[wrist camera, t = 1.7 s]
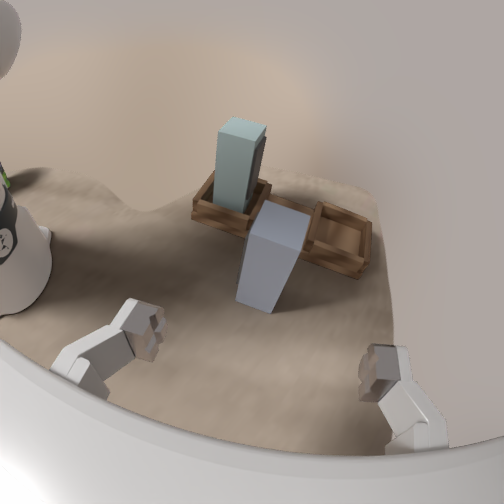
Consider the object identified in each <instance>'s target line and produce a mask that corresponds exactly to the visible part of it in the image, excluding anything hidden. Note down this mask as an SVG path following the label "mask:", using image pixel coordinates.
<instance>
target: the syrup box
mask: <svg viewBox="0 0 504 504" xmlns="http://www.w3.org/2000/svg"><path fill="white" fill-rule="evenodd" d="M0 181H1V183H2V184H3V185H5V186H6V188H9V187H10V183H9V180H8V178H7V176H6V174H5V172H4V169H3V167H2V165H1V162H0Z"/></svg>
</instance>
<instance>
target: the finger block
mask: <svg viewBox="0 0 504 504" xmlns="http://www.w3.org/2000/svg"><path fill="white" fill-rule="evenodd" d="M310 217H311V216H309V215H307V214H304V213H301V212H298V211H296V210H293V209H290V208H287V207H284V206H282V205H279V204H276V203H273V202H270V201H267V200H265V201H264V203H263V206H262V208H261V210H260V212H257V214H256V216H255V219H254V221H253V223H252V225H251V227H250V229H249V231H248V233H247V235H246V237H245V242H244V247H243V252H242V257H241V262H240V267H239V272H238V277H237V282H236V284H238V290H237V295H236V299H235V301H237V302H240V303H242V304H245V305H248V306H250V307H253V308H256V309H259V310H261V311H264V312H267V313H270V314H271V312H272V310H273V308H274V306H275V304H276V302H277V300H278V298H279V296H280V294H281V292H282V290H283V288H284V286H285V283H286V281H287V279H288V277H289V275H290V273H291V271H292V269H293V267H294V265H295V262H296V260H297V258H298V256H299V254H300V252H301V248H302V245H303V242H304V238H305V234H306V231H307V227H308V224H309V220H310Z"/></svg>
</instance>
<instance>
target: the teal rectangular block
mask: <svg viewBox="0 0 504 504" xmlns="http://www.w3.org/2000/svg"><path fill="white" fill-rule="evenodd" d="M266 127H267V126H266V125H262V124H259V123H255V122H251V121H248V120H244V119H240V118H236V117H232V118H231V119H230V120H229V121H228V122H227V123H226V124H225V125H224V126H223V127H222V128H221V129H220V130H219V131H218V139H217V151H216V164H215V177H214V191H213V204H216V205H219V206H222V207H225V208H228V209H231V210H234V211H237V212H239V213H242V214H244V212H245V210H246V209H247V207H248V205H249V203H250V201H251V199H252V196H253V191H254V189H255V187H256V185H257V180H258V176H259V171H260V166H261V161H262V156H263V151H264V147H265V142H266V137H265V131H266Z"/></svg>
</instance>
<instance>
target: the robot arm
mask: <svg viewBox="0 0 504 504" xmlns="http://www.w3.org/2000/svg"><path fill="white" fill-rule="evenodd" d="M20 40H21V23H20V19H19V16H18V14H17V12H16V10H15V9H14V8H13V6H12V5H10V4H9V3H7V2H6V1H4V0H0V79H1V78H3V77H4V76H5V75H7V73H8V72H9V70H10V68H11V66H12V64H13V62H14V60H15V58H16V56H17V52H18V49H19V46H20ZM50 240H51V232H50V230H49V229H48V228H46V227H42V226H38V225H37V223H36V222H35V220H34V219H33V217H32V215H31V214H30V212H29V211H28V209H27V208H26V207H22V206H16V204H15V202H14V200H13V197H12V195H11V193H10V192H9V191H8V189H7V188H6V186H5V185H3V184H2V183H1V181H0V316H1V315H4V314H13V313H17V312H20V311H22V310H24V309H25V308H27V307H28V306H29V305H31V304H32V303H33V302H34V301H35V300H36V299H37V298H38V296H39V295H40V294H41V292H42V291H43V289H44V287H45V285H46V283H47V281H48V279H49V276H50V272H51V267H52V256H51V252H50V247H49V245H50ZM164 314H165V312H164V308H163V307H160V306H156V305H153V304H149V303H146V302H143V301H139V300H136V299H132V298H129V299H128V300H126V302H125V303H124V305H123V306H122V308H121V309H120V310H119V312H118V313H117V315H116V316H115V318H114V319H113V321H112V322H111V324H110V325H105V326H103V327H102V328H100V329H98V330H96V331H94V332H92V333H90V334H88V335H87V336H85V337H83V338H81V339H79V340H77V341H75V342H73V343H71V344H70V345H68V346H66V347H64V348H63V349H62V351H61V352H60V354H59V355H58V357H57V359H56V360H55V362H54V363H53V365H52V366H51V368H50V369H49V370H48V369H46V368H44V367H43V366H41V365H39V364H38V363H36V362H35V361H33V360H31V359H30V358H28V357H27V356H25V355H24V354H22V353H21V352H19V351H18V350H16V349H15V348H14V347H12V346H11V345H10V344H8V343H7V342H6V341H4V340H2V339H0V504H504V436H502V437H498V438H494V439H490V440H487V441H483V442H479V443H474V444H470V445H465V446H460V447H454V448H449V443H448V432H447V424H446V419H445V418H444V417H443V415H442V414H441V413H440V411H439V410H438V409H437V407H436V406H435V405H434V404H433V402H432V401H431V400H430V398H429V397H428V396H427V395H426V393H425V392H424V391H423V389H422V388H421V387H420V386H419V384H418V383H417V382H416V381H413V377H412V371H411V365H410V359H409V353H408V349H407V347H405V346H394V345H385V344H373V343H372V344H370V345H369V347H368V349H367V351H368V353H367V354H365V355H363V357H362V359H361V361H360V364H359V371H358V377H359V379H360V380H361V381H362V383H361V384H360V386H359V401H364V402H378V405H379V407H380V409H381V410H382V412H383V414H384V416H385V418H386V419H387V421H388V423H389V425H390V427H391V429H392V430H393V432H394V434H395V436H396V438H395V439H394V440H392V441H391V442H389V443H388V444H387V445H386V446H385V455H379V456H341V455H321V454H308V453H298V452H289V451H281V450H274V449H268V448H262V447H256V446H250V445H245V444H240V443H235V442H230V441H226V440H222V439H217V438H213V437H209V436H206V435H202V434H198V433H195V432H191V431H188V430H184V429H181V428H178V427H175V426H171V425H168V424H165V423H162V422H159V421H157V420H154V419H151V418H148V417H146V416H143V415H140V414H138V413H135V412H133V411H130V410H128V409H125V408H123V407H120V406H118V405H116V404H113V403H111V402H109V401H107V398H108V396H109V394H110V391H109V388H108V387H107V386H106V384H105V383H104V382H103V381H104V380H106V379H107V378H109V377H110V376H111V375H113V374H114V373H116V372H117V371H118V370H120V369H121V368H122V367H124V366H125V365H127V364H128V363H129V362H131V361H132V360H133V359H135V357H136V358H139V359H143V360H146V361H149V362H153V361H154V359H155V357H156V355H157V353H158V351H159V348H158V344H160V343H162V342H163V341H164V339H165V337H166V334H167V329H168V324H167V320H166V319H165V318H164V317H163V316H164Z"/></svg>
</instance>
